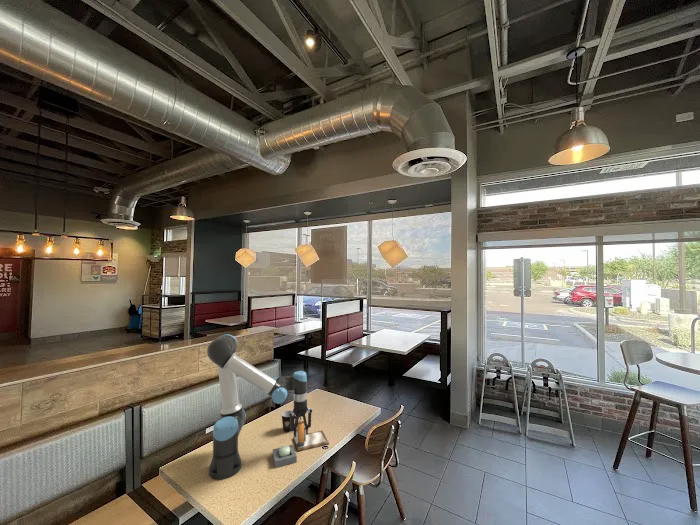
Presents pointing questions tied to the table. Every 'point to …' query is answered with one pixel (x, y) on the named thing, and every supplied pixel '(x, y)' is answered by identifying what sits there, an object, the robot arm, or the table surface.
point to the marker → (300, 433)
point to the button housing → (284, 460)
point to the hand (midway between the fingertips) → (300, 441)
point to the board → (313, 441)
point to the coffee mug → (287, 420)
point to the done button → (284, 451)
